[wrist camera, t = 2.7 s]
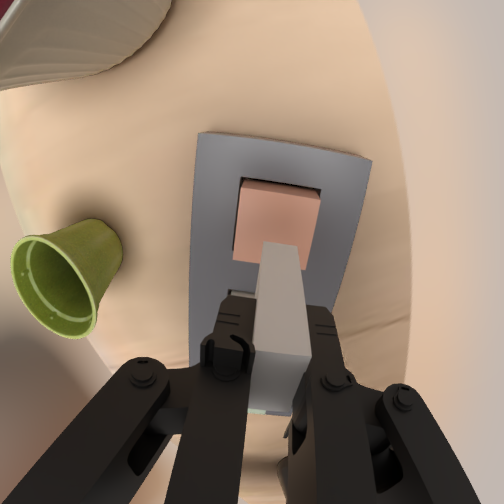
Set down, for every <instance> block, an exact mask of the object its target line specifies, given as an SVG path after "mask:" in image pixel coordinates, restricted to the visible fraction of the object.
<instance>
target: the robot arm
mask: <svg viewBox="0 0 504 504" xmlns="http://www.w3.org/2000/svg"><path fill="white" fill-rule="evenodd" d="M335 327H336V325H335V321H334V317H333V315H332V314H331V313H330V311H329V310H328V309H327V308H326V307H323V306H314V305H306V304H305V296H304V289H303V282H302V275H301V268H300V261H299V254H298V248H297V246H293V245H287V244H280V243H273V242H266V241H264V242H263V248H262V254H261V261H260V267H259V273H258V279H257V286H256V292H255V298H248V297H241V296H234V295H228V296H227V297H226V298H225V299H224V300H223V301H222V302H221V304H220V308H219V311H218V315H217V318H216V322H215V326H214V329H213V333H211V334H209V335H207V336H206V337H204V339H203V340H202V342H201V344H200V362H199V363H198V364H196V365H194V366H191V367H188V368H181V369H166V367H165V366H164V364H162V363H161V362H159V361H158V360H156V359H153V358H149V357H137V358H134V359H131V360H129V361H127V362H126V363H125V364H123V365H122V366H121V367H120V368H119V369H118V370H117V372H116V373H115V374H114V375H113V376H112V377H111V378H110V379H109V380H108V382H107V383H106V384H105V385H104V386H103V387H102V388H101V389H100V390H99V392H98V393H97V394H96V395H95V396H94V397H93V398H92V399H91V400H90V402H89V403H88V404H87V405H86V406H85V407H84V408H83V409H82V411H81V412H80V413H79V414H78V415H77V416H76V418H75V419H74V420H73V421H72V422H71V423H70V424H69V425H68V426H67V428H66V429H65V430H64V431H63V432H62V434H60V436H59V437H58V438H57V439H56V440H55V441H54V443H53V444H52V445H51V446H50V447H49V448H48V450H47V451H46V452H45V453H44V454H43V455H42V456H41V457H40V459H39V460H38V461H37V462H36V463H35V464H34V466H33V467H32V468H31V469H30V470H29V472H28V473H27V474H26V475H25V476H24V478H23V479H22V480H21V481H20V482H19V483H18V485H17V486H16V487H15V488H14V489H13V491H12V492H11V493H10V494H9V496H8V497H7V498H6V499H5V500H4V501H3V503H2V504H129V503H130V501H131V500H132V498H133V497H134V495H135V494H136V492H137V491H138V489H139V488H140V486H141V485H142V483H143V482H144V480H145V478H146V477H147V475H148V474H149V472H150V471H151V469H152V468H153V466H154V464H155V463H156V461H157V460H158V458H159V456H160V455H161V453H162V452H163V450H164V449H165V447H166V446H167V444H168V442H169V441H170V439H171V438H172V436H173V435H174V434H182V435H181V439H180V442H179V446H178V450H177V454H176V458H175V462H174V466H173V470H172V474H171V478H170V482H169V486H168V490H167V494H166V498H165V502H164V504H237V503H238V495H239V486H240V477H241V468H242V459H243V450H244V441H245V432H246V422H247V413H248V408H250V409H258V410H267V411H278V412H289V411H290V408H291V406H292V418H291V421H290V423H289V425H288V427H287V429H286V431H285V433H284V437H283V438H287V437H288V457H286V458H284V459H283V460H281V461H280V462H279V463H278V471H277V475H278V478H279V481H280V484H281V487H282V489H283V492H284V495H285V498H286V504H481V503H480V501H479V499H478V497H477V495H476V493H475V491H474V489H473V487H472V485H471V483H470V481H469V479H468V477H467V476H466V474H465V472H464V470H463V468H462V466H461V464H460V462H459V460H458V459H457V457H456V455H455V453H454V451H453V450H452V448H451V446H450V444H449V443H448V441H447V439H446V438H445V436H444V434H443V432H442V431H441V429H440V427H439V426H438V424H437V422H436V420H435V419H434V417H433V415H432V414H431V412H430V410H429V409H428V407H427V406H426V404H425V402H424V401H423V399H422V398H421V396H420V395H419V394H418V392H417V391H416V390H415V389H413V388H412V387H410V386H408V385H405V384H401V383H400V384H392V385H390V386H388V387H387V388H386V390H385V391H384V392H381V391H378V390H374V389H370V388H367V387H364V386H362V385H360V384H358V383H357V382H356V379H355V377H354V375H353V374H352V373H351V372H350V371H349V370H347V369H345V366H344V361H343V356H342V352H341V347H340V343H339V338H338V337H337V335H338V334H337V330H336V328H335Z"/></svg>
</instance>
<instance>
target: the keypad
mask: <svg viewBox="0 0 504 504" xmlns="http://www.w3.org/2000/svg"><path fill="white" fill-rule="evenodd" d="M371 166H372V161H371V160H369V159H367V158H364V157H362V156H359V155H355V154H350V153H346V152H341V151H337V150H332V149H327V148H322V147H317V146H312V145H306V144H301V143H295V142H289V141H283V140H276V139H269V138H262V137H255V136H246V135H238V134H229V133H218V132H202V133H198V140H197V150H196V162H195V174H194V187H193V202H192V219H191V239H190V267H189V367H191V366H194V365H196V364H198V363H199V362H200V344H201V342H202V340H203V339H204V337H206V336H207V335H209V334H211V333H213V329H214V326H215V322H216V318H217V315H218V311H219V308H220V304H221V302H222V301H223V300H224V299H225V298H226V297H227V296H228V295H230V292H231V289H233V290H239V291H246V292H253V293H255V292H256V286H257V279H258V273H259V267H260V264H258V263H252V262H245V261H238V260H233V252H234V243H235V234H236V225H237V217H238V208H239V200H240V191H241V187H242V185H243V179H244V177H248V178H256V179H263V180H269V181H276V182H282V183H289V184H295V185H301V186H307V187H312V188H314V190H315V191H316V192H317V194H318V196H319V198H320V199H321V202H320V207H319V212H318V216H317V221H316V226H315V230H314V235H313V239H312V244H311V248H310V252H309V257H308V261H307V265H306V269H305V270H301V275H302V282H303V289H304V296H305V304H306V305H314V306H323V307H326V308H327V309H328V310H329V311H330V313H331V312H332V309H333V306H334V303H335V300H336V297H337V294H338V291H339V288H340V285H341V282H342V278H343V275H344V272H345V269H346V265H347V262H348V258H349V255H350V251H351V248H352V244H353V241H354V237H355V233H356V230H357V226H358V222H359V218H360V214H361V210H362V206H363V202H364V197H365V193H366V189H367V184H368V180H369V175H370V170H371ZM265 414H267V415H278V416H291V414H292V406H291V408H290V411H289V412H278V411H267V410H266V412H265Z"/></svg>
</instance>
